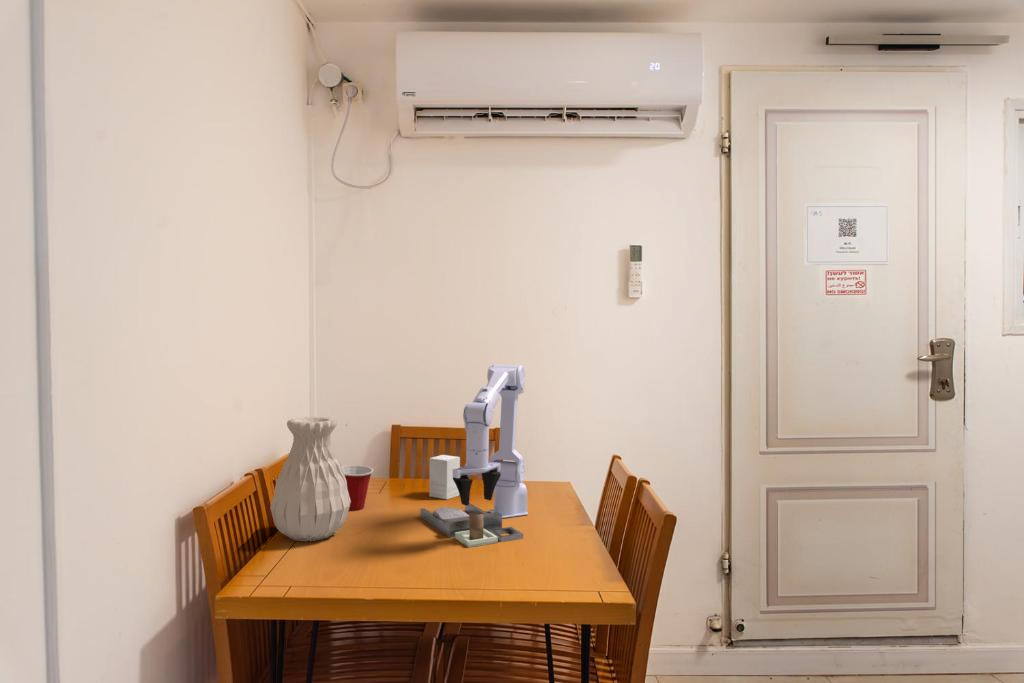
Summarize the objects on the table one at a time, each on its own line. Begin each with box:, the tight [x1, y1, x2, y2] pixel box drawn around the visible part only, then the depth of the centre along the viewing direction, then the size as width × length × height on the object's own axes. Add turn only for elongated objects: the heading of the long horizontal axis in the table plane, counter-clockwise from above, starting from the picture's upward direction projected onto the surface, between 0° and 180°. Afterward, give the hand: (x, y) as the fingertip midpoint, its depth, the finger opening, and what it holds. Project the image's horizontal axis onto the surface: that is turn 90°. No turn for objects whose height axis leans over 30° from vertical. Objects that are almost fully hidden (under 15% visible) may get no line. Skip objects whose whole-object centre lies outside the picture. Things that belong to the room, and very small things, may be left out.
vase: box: [270, 416, 351, 542], centre depth 171 cm, size 20×20×30 cm
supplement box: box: [428, 454, 461, 500], centre depth 213 cm, size 7×7×13 cm
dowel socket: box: [489, 526, 524, 543], centre depth 172 cm, size 7×7×1 cm
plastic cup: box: [341, 464, 374, 512], centre depth 196 cm, size 11×11×12 cm
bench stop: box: [419, 502, 503, 539], centre depth 183 cm, size 15×21×4 cm
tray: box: [454, 528, 499, 548], centre depth 168 cm, size 8×8×2 cm
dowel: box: [468, 513, 483, 540], centre depth 168 cm, size 4×4×6 cm
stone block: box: [432, 506, 470, 522], centre depth 182 cm, size 12×5×10 cm
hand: (476, 502), depth 168 cm, fingers open, 7 cm apart
